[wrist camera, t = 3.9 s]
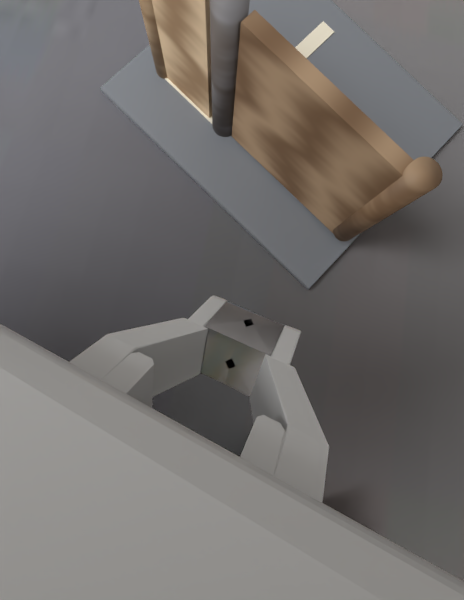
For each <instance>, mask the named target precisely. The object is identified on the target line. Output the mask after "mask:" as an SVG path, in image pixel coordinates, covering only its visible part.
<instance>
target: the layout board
mask: <svg viewBox="0 0 464 600" xmlns="http://www.w3.org/2000/svg"><path fill="white" fill-rule="evenodd" d="M254 10H256V11H257V12H258V13H259V14H260V15H261V16H262V17H263V18H264V19H265V20H266V21H267V22H268V23H270V24H271V25H272V26H273V27H274V28H275V29H276V30H277V31H278V32H279V33H280V34H281V35H282V36H283V37H284V38H285V39H286V40H287V41H289V42H290V43H291V44H292V45H293V46H294V47H295V48H296V49H297V50H298V51H299V52H300V53H301V54H302V55H303V56H304V57H305V58H306V59H308V60H309V61H310V62H311V63H312V64H313V65H314V66H315V67H316V68H317V69H318V70H319V71H320V72H321V73H322V74H323V75H324V76H325V77H327V78H328V79H329V80H330V81H331V82H332V83H333V84H334V85H335V86H336V87H337V88H338V89H339V90H340V91H341V92H342V93H343V94H344V95H346V96H347V97H348V98H349V99H350V100H351V101H352V102H353V103H354V104H355V105H356V106H357V107H358V108H359V109H360V110H361V111H362V112H363V113H365V114H366V115H367V116H368V117H369V118H370V119H371V120H372V121H373V122H374V123H375V124H376V125H377V126H378V127H379V128H380V129H381V130H382V131H384V132H385V133H386V134H387V135H388V136H389V137H390V138H391V139H392V140H393V141H394V142H395V143H396V144H397V145H398V146H399V147H400V148H402V149H403V150H404V151H405V152H406V153H407V154H408V155H409V156H410V157H411V158H412V159H413V160H415V159H417V158H419V157H429V158H432V157H433V156H434V155H435V153H436V152H437V151H438V150H439V149H440V148H441V147H442V146H443V145H444V144H445V143H446V142H447V141H448V140H449V138H450V137H451V136H452V135H453V134H454V133H455V132H456V131H457V130H458V129H459V128H460V127H461V126H462V125H463V124H462V123H461V122H460V121H459V120H458V119H457V118H456V117H455V116H454V115H452V114H451V113H450V112H449V111H448V110H447V109H446V108H445V107H444V106H443V105H442V104H441V103H440V102H439V101H438V100H437V99H435V98H434V97H433V96H432V95H431V94H430V93H429V92H428V91H427V90H426V89H425V88H424V87H423V86H422V85H421V84H420V83H419V82H417V81H416V80H415V79H414V78H413V77H412V76H411V75H410V74H409V73H408V72H407V71H406V70H405V69H404V68H403V67H402V66H400V65H399V64H398V63H397V62H396V61H395V60H394V59H393V58H392V57H391V56H390V55H389V54H388V53H387V52H386V51H385V50H384V49H382V48H381V47H380V46H379V45H378V44H377V43H376V42H375V41H374V40H373V39H372V38H371V37H370V36H369V35H368V34H367V33H365V32H364V31H363V30H362V29H361V28H360V27H359V26H358V25H357V24H356V23H355V22H354V21H353V20H352V19H351V18H350V17H348V16H347V15H346V14H345V13H344V12H343V11H342V10H341V9H340V8H339V7H338V6H337V5H336V4H335V3H334V2H333V1H332V0H250V4H249V13H248V15H249V14H250V13H252V12H253V11H254ZM100 89H101V91H102V93H103V94H104V95H105V96H106V97H107V98H108V99H109V100H110V101H112V102H113V103H114V104H115V105H116V106H117V107H118V108H119V109H120V110H121V111H122V112H123V113H124V114H125V115H126V116H127V117H128V118H129V119H130V120H131V121H132V122H133V123H134V124H135V125H136V126H138V127H139V128H140V129H141V130H142V131H143V132H144V133H145V134H146V135H147V136H148V137H149V138H150V139H151V140H152V141H153V142H154V143H155V144H156V145H157V146H158V147H159V148H160V149H161V150H163V151H164V152H165V153H166V154H167V155H168V156H169V157H170V158H171V159H172V160H173V161H174V162H175V163H176V164H177V165H178V166H179V167H180V168H181V169H182V170H183V171H184V172H185V173H186V174H188V175H189V176H190V177H191V178H192V179H193V180H194V181H195V182H196V183H197V184H198V185H199V186H200V187H201V188H202V189H203V190H204V191H205V192H206V193H207V194H208V195H209V196H210V197H211V198H213V199H214V200H215V201H216V202H217V203H218V204H219V205H220V206H221V207H222V208H223V209H224V210H225V211H226V212H227V213H228V214H229V215H230V216H231V217H232V218H233V219H234V220H235V221H236V222H238V223H239V224H240V225H241V226H242V227H243V228H244V229H245V230H246V231H247V232H248V233H249V234H250V235H251V236H252V237H253V238H254V239H255V240H256V241H257V242H258V243H259V244H260V245H261V246H263V247H264V248H265V249H266V250H267V251H268V252H269V253H270V254H271V255H272V256H273V257H274V258H275V259H276V260H277V261H278V262H279V263H280V264H281V265H282V266H283V267H284V268H285V269H286V270H288V271H289V272H290V273H291V274H292V275H293V276H294V277H295V278H296V279H297V280H298V281H299V282H300V283H301V284H302V285H303V286H304V287H305V288H306V289H309V288H310V287H311V286H312V285H313V284H314V283H315V282H316V281H317V280H318V279H319V278H320V276H321V275H322V274H323V273H324V272H325V271H326V270H327V269H328V268H329V267H330V266H331V265H332V264H333V263H334V261H335V260H336V259H337V258H338V257H339V256H340V255H341V254H342V253H343V252H344V251H345V250H346V249H347V248H348V246H349V245H350V244H351V243H352V242H353V241H354V240H355V239H356V238H357V237H358V236H359V235H360V234H361V233H360V234H358V235H357V236H355V237H353V238H352V239H350V240H348V241H340V240H338V239H337V238H336V237H335V236H334V234H333V233H332V232H331V231H330V230H329V229H328V228H327V227H326V226H325V225H324V224H323V223H322V222H321V221H320V220H319V219H317V218H316V217H315V216H314V215H313V214H312V213H311V212H310V211H309V210H308V209H307V208H306V207H305V206H304V205H303V204H302V203H301V202H300V201H299V200H298V199H297V198H295V197H294V196H293V195H292V194H291V193H290V192H289V191H288V190H287V189H286V188H285V187H284V186H283V185H282V184H281V183H280V182H279V181H278V180H277V179H276V178H275V177H274V176H272V175H271V174H270V173H269V172H268V171H267V170H266V169H265V168H264V167H263V166H262V165H261V164H260V163H259V162H258V161H257V160H256V159H255V158H254V157H253V156H252V155H250V154H249V153H248V152H247V151H246V150H245V149H244V148H243V147H242V146H241V145H240V144H239V143H238V142H237V141H236V140H235V139H234V138H233V137H232V135H231V136H229V137H221V136H219V135H217V134H216V133H215V132H214V130H213V126H212V116H211V117H210V118H209V117H208V116H207V115H206V114H204V113H203V112H202V111H201V110H200V109H199V108H198V107H197V106H196V105H195V104H194V103H193V102H192V101H191V100H190V99H189V98H188V97H187V96H186V95H185V94H184V93H182V92H181V91H180V90H179V89H178V88H177V87H176V86H175V85H174V84H173V83H172V82H171V81H170V80H169V79H168V78H165V79H163V78H161V77H159V76H158V74H157V72H156V68H155V64H154V60H153V56H152V52H151V48H150V45H148V46H147V47H146V48H145V49H144V50H143V51H142V52H140V53H139V54H138V55H137V56H136V57H135V58H134V59H132V60H131V61H130V62H129V63H128V64H127V65H126V66H124V67H123V68H122V69H121V70H120V71H119V72H118V73H116V74H115V75H114V76H113V77H112V78H111V79H109V80H108V81H107V82H106V83H105V84H104V85H103V86H101V87H100Z"/></svg>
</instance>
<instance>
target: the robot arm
mask: <svg viewBox="0 0 464 600" xmlns="http://www.w3.org/2000/svg"><path fill="white" fill-rule="evenodd" d="M284 326H285V327H284ZM300 334H301V331H300V330H298V329H295V328H293V327H290V326H287V325H283V324H281V323H279V322H276V321H274V320H271V319H269V318H266V317H264V316H261V315H259V314H256V313H255V312H252V311H250V310H248V309H245V308H243V307H241V306H239V305H236V304H234V303H232V302H230V301H227V300H225V299H222V298H220V297H218V296H215V295H214V296H211V297H210V298H209V299H208V300H207V301H206V302H205V303H204V304H203V305H202V306H201V307H200V308H199V309H198V310H197V311H196V312H195V313H194V314H193V315H192V316H191V317H190V318H188V319H186V318H179V319H175V320H170V321H166V322H161V323H156V324H152V325H147V326H142V327H138V328H133V329H128V330H124V331H119V332H115V333H110V334H107V335H105V336H104V337H102V338H101V339H100V340H98V341H97V342H96V343H94V344H93V345H91V346H90V347H89V348H87V349H86V350H85V351H83V352H82V353H81V354H79V355H78V356H76V357H75V358H74V359H72V360H71V361H70V362H68V361H66V360H65V359H63V358H61V357H59V356H57V355H56V354H54V353H52V352H50V351H48V350H47V349H45V348H43V347H41V346H39V345H38V344H36V343H34V342H32V341H30V340H29V339H27V338H25V337H23V336H21V335H20V334H18V333H16V332H14V331H13V330H11V329H9V328H7V327H5V326H4V325H2V324H0V600H464V581H462V580H460V579H459V578H457V577H455V576H453V575H451V574H450V573H448V572H446V571H444V570H442V569H441V568H439V567H437V566H435V565H433V564H432V563H430V562H428V561H426V560H424V559H423V558H421V557H419V556H417V555H415V554H414V553H412V552H410V551H408V550H406V549H405V548H403V547H401V546H399V545H397V544H396V543H394V542H392V541H390V540H388V539H387V538H385V537H383V536H381V535H379V534H378V533H376V532H374V531H372V530H370V529H369V528H367V527H365V526H363V525H361V524H360V523H358V522H356V521H354V520H352V519H351V518H349V517H347V516H345V515H344V514H342V513H340V512H338V511H336V510H335V509H333V508H331V507H329V506H327V505H326V504H324V503H322V502H323V494H324V486H325V477H326V469H327V461H328V452H329V445H328V443H327V440H326V438H325V436H324V434H323V431H322V429H321V427H320V424H319V422H318V420H317V417H316V415H315V413H314V410H313V408H312V406H311V404H310V401H309V399H308V397H307V394H306V392H305V390H304V387H303V385H302V383H301V380H300V378H299V376H298V374H297V371H296V369H295V367H293V366H291V365H290V364H291V361H292V358H293V355H294V352H295V349H296V346H297V343H298V340H299V337H300ZM200 373H202V374H204V375H206V376H209V377H211V378H213V379H215V380H217V381H219V382H222V383H224V384H226V385H228V386H230V387H231V388H233V389H235V390H237V391H239V392H241V393H243V394H245V395H247V396H249V397H250V398H249V400H250V407H251V413H252V420H253V427H252V429H251V432H250V434H249V436H248V439H247V441H246V443H245V446H244V448H243V450H242V453H241V455H240V457H239V456H237V455H235V454H234V453H232V452H230V451H228V450H226V449H225V448H223V447H221V446H219V445H217V444H216V443H214V442H212V441H210V440H208V439H206V438H205V437H203V436H201V435H199V434H197V433H196V432H194V431H192V430H190V429H188V428H187V427H185V426H183V425H181V424H180V423H178V422H176V421H174V420H172V419H171V418H169V417H167V416H165V415H163V414H162V413H160V412H158V411H156V410H154V409H153V408H152V399H153V396H155V395H157V394H159V393H161V392H164V391H166V390H168V389H170V388H172V387H174V386H176V385H178V384H180V383H182V382H184V381H186V380H188V379H191V378H193V377H195V376H197V375H199V374H200Z"/></svg>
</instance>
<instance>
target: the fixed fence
mask: <svg viewBox="0 0 464 600" xmlns="http://www.w3.org/2000/svg"><path fill="white" fill-rule="evenodd" d="M139 2H140V7H141V11H142V15H143V19H144V23H145V27H146V31H147V35H148V39H149V44H150V48H151V52H152V56H153V60H154V64H155V68H156V72H157V74H158V76H159V77H161V78H163V79H165V78H168V79H169V80H170V81H171V82H172V83H173V84H174V85H175V86H176V87H177V88H178V89H179V90H180V91H181V92H182V93H184V94H185V95H186V96H187V97H188V98H189V99H190V100H191V101H192V102H193V103H194V104H195V105H196V106H197V107H198V108H199V109H200V110H201V111H202V112H203V113H204V114H206V115H207V116H208V117H209V118H210V117H211V116H212V126H213V130H214V132H215V133H216V134H217V135H219V136H221V137H229V136H231V135H232V126H233V114H234V101H235V89H236V77H237V64H238V52H239V40H240V27H241V22H242V21H243V20H244V19H245V18H246V17H247V16H248V13H249V4H250V0H139Z"/></svg>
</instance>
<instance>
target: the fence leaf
mask: <svg viewBox="0 0 464 600" xmlns="http://www.w3.org/2000/svg"><path fill="white" fill-rule="evenodd" d="M232 137H233V138H234V139H235V140H236V141H237V142H238V143H239V144H240V145H241V146H242V147H243V148H244V149H245V150H246V151H247V152H248V153H249V154H250V155H252V156H253V157H254V158H255V159H256V160H257V161H258V162H259V163H260V164H261V165H262V166H263V167H264V168H265V169H266V170H267V171H268V172H269V173H270V174H271V175H272V176H274V177H275V178H276V179H277V180H278V181H279V182H280V183H281V184H282V185H283V186H284V187H285V188H286V189H287V190H288V191H289V192H290V193H291V194H292V195H293V196H294V197H295V198H297V199H298V200H299V201H300V202H301V203H302V204H303V205H304V206H305V207H306V208H307V209H308V210H309V211H310V212H311V213H312V214H313V215H314V216H315V217H316V218H317V219H319V220H320V221H321V222H322V223H323V224H324V225H325V226H326V227H327V228H328V229H329V230H330V231H331V232H332V233H333V234H334V236H335V237H336V238H337V239H338V240H340V241H348V240H350V239H352V238H353V237H355V236H357V235H358V234H360V233H362V232H363V231H365V230H367V229H368V228H370V227H372V226H373V225H375V224H377V223H378V222H380V221H382V220H383V219H385V218H387V217H388V216H390V215H391V214H393V213H395V212H396V211H398V210H400V209H401V208H403V207H405V206H406V205H408V204H410V203H411V202H413V201H415V200H416V199H418V198H420V197H421V196H423V195H425V194H426V193H428V192H430V191H431V190H433V189H435V188H436V187H437V186H438V185H439V184H440V182H441V180H442V170H441V167H440V165H439V164H438V163H437V162H436V161H435V160H434V159H432V158H429V157H419V158H417V159H415V160H413V159H412V158H411V157H410V156H409V155H408V154H407V153H406V152H405V151H404V150H403V149H402V148H400V147H399V146H398V145H397V144H396V143H395V142H394V141H393V140H392V139H391V138H390V137H389V136H388V135H387V134H386V133H385V132H384V131H382V130H381V129H380V128H379V127H378V126H377V125H376V124H375V123H374V122H373V121H372V120H371V119H370V118H369V117H368V116H367V115H366V114H365V113H363V112H362V111H361V110H360V109H359V108H358V107H357V106H356V105H355V104H354V103H353V102H352V101H351V100H350V99H349V98H348V97H347V96H346V95H344V94H343V93H342V92H341V91H340V90H339V89H338V88H337V87H336V86H335V85H334V84H333V83H332V82H331V81H330V80H329V79H328V78H327V77H325V76H324V75H323V74H322V73H321V72H320V71H319V70H318V69H317V68H316V67H315V66H314V65H313V64H312V63H311V62H310V61H309V60H308V59H306V58H305V57H304V56H303V55H302V54H301V53H300V52H299V51H298V50H297V49H296V48H295V47H294V46H293V45H292V44H291V43H290V42H289V41H287V40H286V39H285V38H284V37H283V36H282V35H281V34H280V33H279V32H278V31H277V30H276V29H275V28H274V27H273V26H272V25H271V24H270V23H268V22H267V21H266V20H265V19H264V18H263V17H262V16H261V15H260V14H259V13H258V12H257V11H256V10H254V11H253V12H252V13H250V14H249V15H248V16H247V17H246V18H245V19H244V20H243V21H242V22H241V27H240V40H239V52H238V64H237V77H236V89H235V101H234V114H233V126H232Z"/></svg>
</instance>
